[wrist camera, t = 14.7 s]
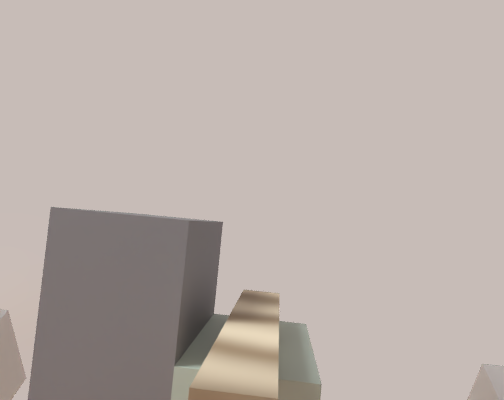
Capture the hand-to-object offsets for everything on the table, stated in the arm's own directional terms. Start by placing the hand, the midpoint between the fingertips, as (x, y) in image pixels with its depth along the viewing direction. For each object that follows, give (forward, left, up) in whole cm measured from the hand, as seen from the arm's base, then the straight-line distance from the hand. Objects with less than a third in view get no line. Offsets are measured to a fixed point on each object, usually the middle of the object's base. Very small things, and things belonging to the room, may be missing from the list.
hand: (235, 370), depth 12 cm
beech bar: (-2, +13, -4) cm, 14 cm away
